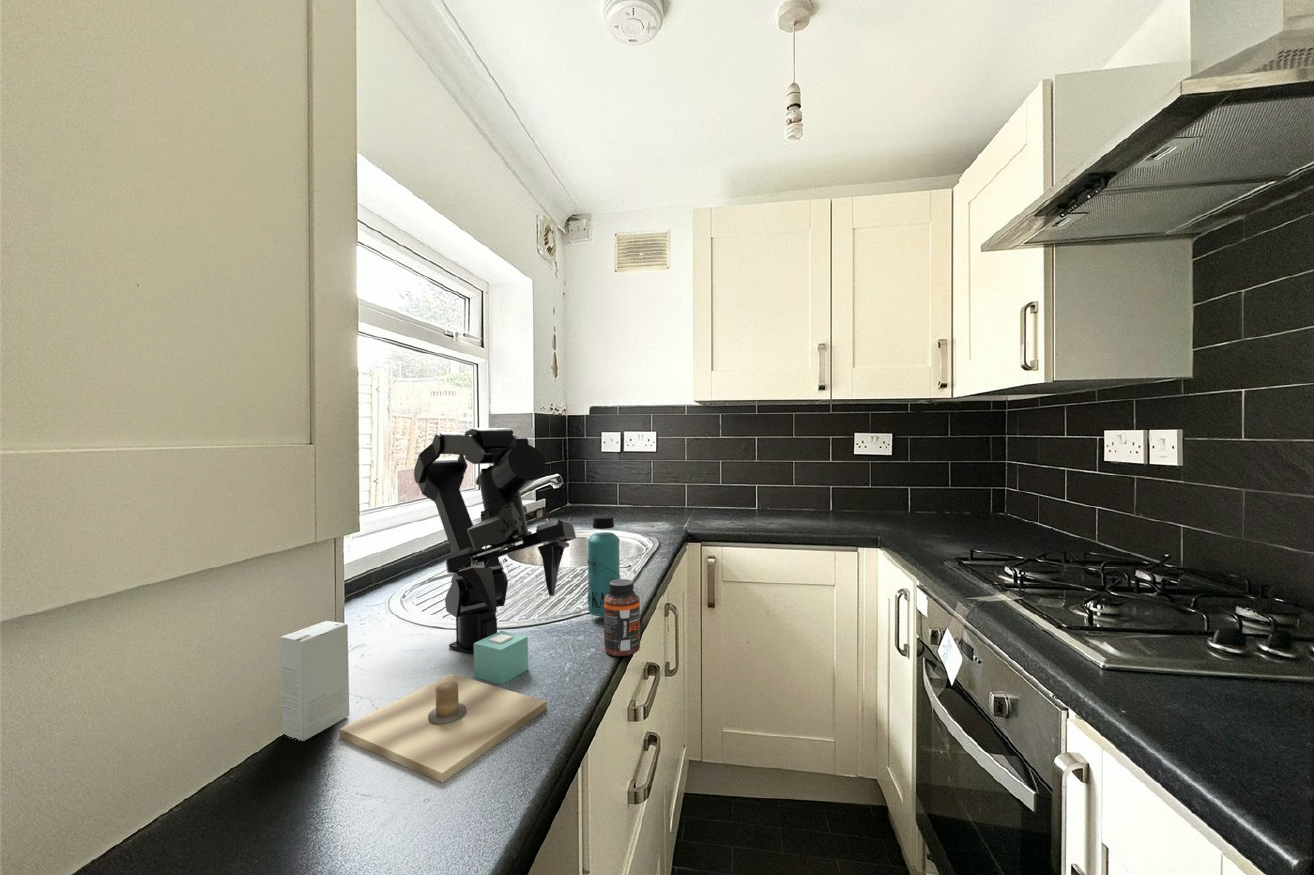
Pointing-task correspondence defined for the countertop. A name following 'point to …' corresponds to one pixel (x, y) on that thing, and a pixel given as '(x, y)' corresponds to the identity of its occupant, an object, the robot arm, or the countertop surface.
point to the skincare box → (314, 678)
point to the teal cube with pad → (500, 657)
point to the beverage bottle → (601, 564)
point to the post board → (443, 725)
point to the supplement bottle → (621, 619)
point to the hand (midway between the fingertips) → (522, 604)
